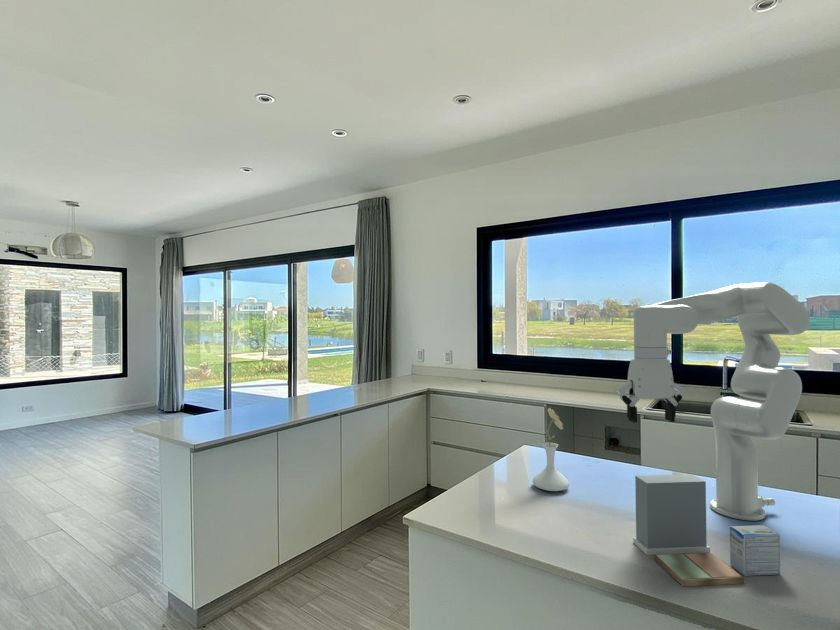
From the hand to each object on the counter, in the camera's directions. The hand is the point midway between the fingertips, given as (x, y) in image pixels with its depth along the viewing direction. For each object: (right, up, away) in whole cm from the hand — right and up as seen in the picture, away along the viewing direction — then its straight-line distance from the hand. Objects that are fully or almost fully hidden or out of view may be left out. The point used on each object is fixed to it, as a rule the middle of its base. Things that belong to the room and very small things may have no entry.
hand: (651, 421), depth 115 cm
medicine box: (+13, -28, -18) cm, 36 cm away
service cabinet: (0, -28, -9) cm, 29 cm away
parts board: (0, -28, -19) cm, 33 cm away
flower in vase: (-17, -29, +30) cm, 45 cm away
